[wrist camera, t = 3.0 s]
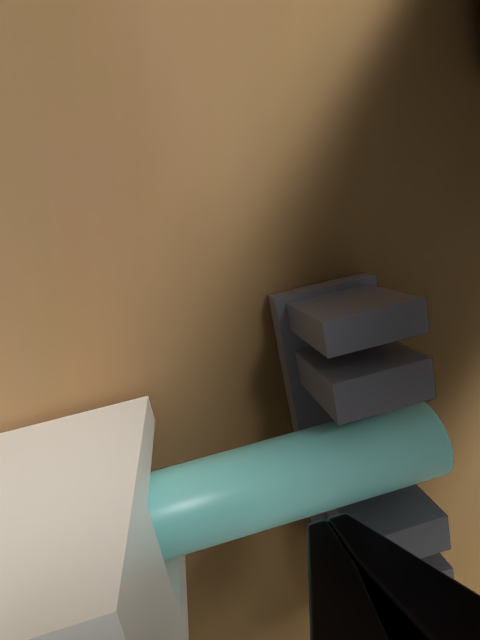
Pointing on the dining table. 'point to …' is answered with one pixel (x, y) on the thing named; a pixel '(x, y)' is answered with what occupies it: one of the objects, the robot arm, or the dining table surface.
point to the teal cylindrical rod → (294, 477)
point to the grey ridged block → (361, 386)
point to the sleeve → (85, 532)
